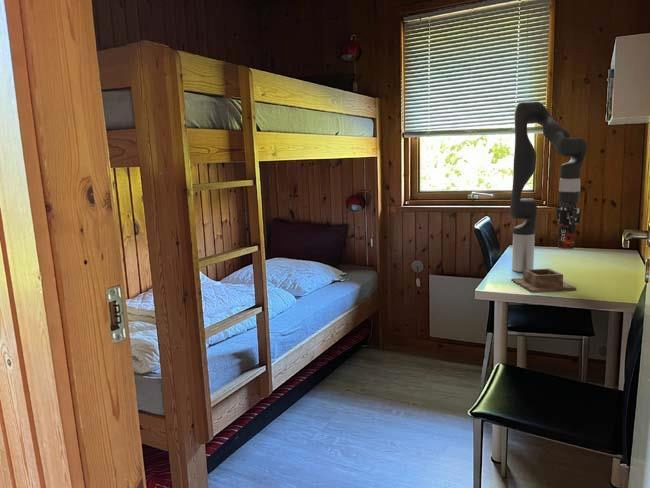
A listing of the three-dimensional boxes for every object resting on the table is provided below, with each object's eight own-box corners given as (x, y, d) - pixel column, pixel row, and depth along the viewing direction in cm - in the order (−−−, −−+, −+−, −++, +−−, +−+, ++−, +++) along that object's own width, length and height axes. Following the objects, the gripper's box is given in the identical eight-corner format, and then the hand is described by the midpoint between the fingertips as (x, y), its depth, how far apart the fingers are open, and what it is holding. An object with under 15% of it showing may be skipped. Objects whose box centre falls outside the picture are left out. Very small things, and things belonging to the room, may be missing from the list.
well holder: (511, 281, 209) (511, 268, 208) (552, 279, 210) (553, 266, 209) (531, 292, 191) (531, 278, 190) (576, 290, 192) (576, 276, 191)
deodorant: (556, 248, 195) (558, 210, 192) (558, 245, 200) (560, 208, 197) (573, 249, 192) (575, 211, 189) (575, 246, 197) (577, 209, 194)
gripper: (550, 189, 198) (548, 230, 201) (570, 192, 184) (567, 236, 187) (568, 188, 199) (565, 229, 202) (589, 191, 185) (586, 235, 188)
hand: (566, 232), depth 195 cm, fingers closed on deodorant, 6 cm apart
